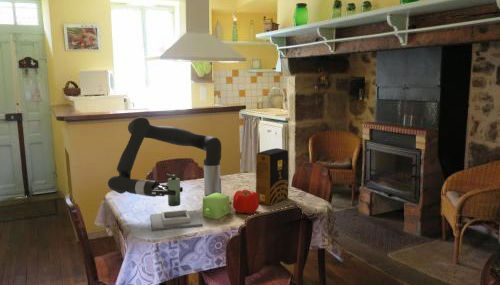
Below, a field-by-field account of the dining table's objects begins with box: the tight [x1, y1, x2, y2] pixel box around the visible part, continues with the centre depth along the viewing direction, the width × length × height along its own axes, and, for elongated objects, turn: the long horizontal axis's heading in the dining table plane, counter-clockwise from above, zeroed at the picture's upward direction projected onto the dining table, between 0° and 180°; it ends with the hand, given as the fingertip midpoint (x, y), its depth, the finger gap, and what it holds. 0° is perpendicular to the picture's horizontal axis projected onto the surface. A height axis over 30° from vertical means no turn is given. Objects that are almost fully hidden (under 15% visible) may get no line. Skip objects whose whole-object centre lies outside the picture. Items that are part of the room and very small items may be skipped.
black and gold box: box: [255, 147, 289, 206], centre depth 218 cm, size 11×19×28 cm, turn 142°
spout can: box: [165, 173, 181, 207], centre depth 186 cm, size 6×6×15 cm
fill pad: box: [149, 209, 203, 232], centre depth 189 cm, size 22×20×3 cm
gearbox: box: [202, 192, 233, 220], centre depth 195 cm, size 18×10×10 cm, turn 147°
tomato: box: [232, 189, 260, 215], centre depth 200 cm, size 14×13×10 cm
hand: (178, 191), depth 186 cm, fingers closed on spout can, 5 cm apart
